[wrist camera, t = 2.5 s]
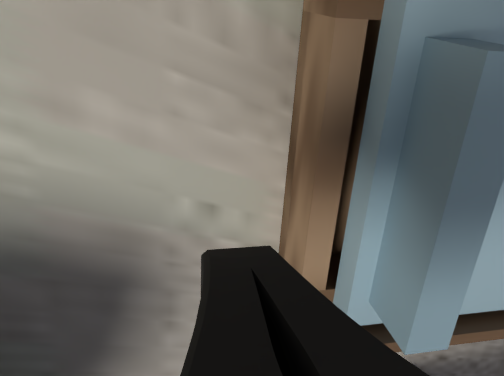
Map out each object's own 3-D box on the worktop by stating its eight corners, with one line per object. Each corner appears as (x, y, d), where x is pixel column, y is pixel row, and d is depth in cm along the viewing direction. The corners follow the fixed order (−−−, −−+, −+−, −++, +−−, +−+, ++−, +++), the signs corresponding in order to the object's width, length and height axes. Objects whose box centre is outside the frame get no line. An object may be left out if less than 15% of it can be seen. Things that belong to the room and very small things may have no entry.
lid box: (549, 257, 23) (640, 321, 19) (275, 280, 20) (310, 363, 16) (662, -17, 17) (827, -15, 13) (308, -46, 14) (375, -55, 10)
